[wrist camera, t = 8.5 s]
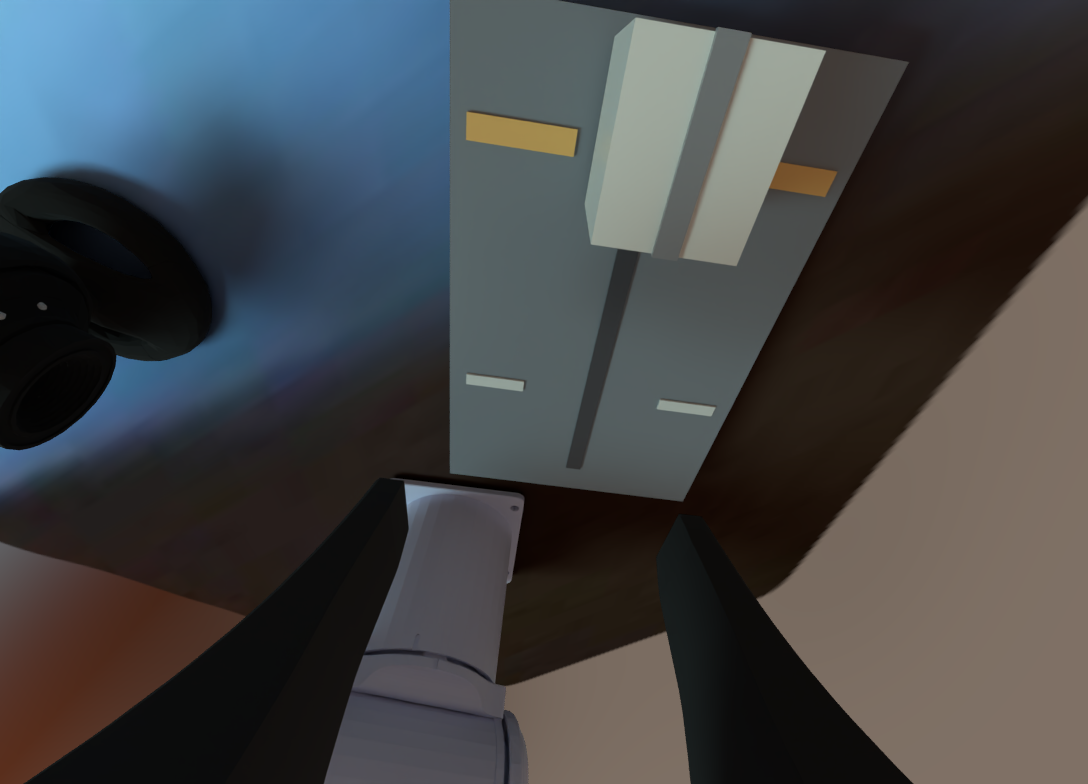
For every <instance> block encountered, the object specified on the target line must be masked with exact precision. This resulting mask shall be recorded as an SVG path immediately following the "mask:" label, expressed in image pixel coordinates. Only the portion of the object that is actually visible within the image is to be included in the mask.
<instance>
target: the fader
mask: <svg viewBox="0 0 1088 784" xmlns="http://www.w3.org/2000/svg"><path fill="white" fill-rule="evenodd" d="M751 34H752V33H750V32H744V31H739V30H733V29H727V28H722V27H717V28H716V30H715V31H710V30H705V29H699V28H693V27H688V26H682V25H676V24H670V23H665V22H659V21H653V20H648V19H642V18H635V19H633V20H632V21H631V22H630V23H629V24H628V25H627V26H626V27H625V28H623V29H622V30H621V31H620V32H619V33H618V34H617V35H616V36H615V37H614V43H613V48H612V54H611V59H610V65H609V71H608V76H607V82H606V87H605V93H604V98H603V104H602V110H601V115H600V121H599V126H598V132H597V137H596V143H595V149H594V154H593V160H592V165H591V171H590V176H589V182H588V188H587V193H586V199H585V210H586V217H587V223H588V230H589V236H590V243H591V245H598V246H605V247H611V248H618V249H625V250H631V251H638V252H645V253H651V257H652V258H659V259H665V260H672V261H677V260H678V258H685V259H692V260H698V261H705V262H712V263H718V264H725V265H732V266H737V263H738V261H739V259H740V256H741V254H742V251H743V249H744V247H745V244H746V242H747V239H748V237H749V235H750V232H751V230H752V227H753V225H754V223H755V220H756V218H757V215H758V213H759V211H760V208H761V206H762V203H763V201H764V199H765V196H766V194H767V191H768V189H769V187H770V184H771V182H772V179H773V177H774V175H775V172H776V170H777V167H778V165H779V163H780V160H781V158H782V155H783V153H784V151H785V148H786V146H787V143H788V141H789V139H790V136H791V134H792V131H793V129H794V127H795V124H796V122H797V119H798V117H799V115H800V112H801V110H802V107H803V105H804V103H805V100H806V98H807V95H808V93H809V91H810V88H811V86H812V83H813V81H814V79H815V76H816V74H817V71H818V69H819V66H820V64H821V62H822V59H823V57H824V54H825V52H826V51H824V50H819V49H813V48H807V47H801V46H796V45H790V44H784V43H779V42H773V41H767V40H762V39H756V38H750V37H751Z"/></svg>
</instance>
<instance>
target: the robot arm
mask: <svg viewBox="0 0 1088 784" xmlns="http://www.w3.org/2000/svg"><path fill="white" fill-rule="evenodd" d="M523 507H524V496H523V495H521V494H520V493H515V492H506V491H498V490H490V489H482V488H473V487H465V486H457V485H448V484H440V483H432V482H424V481H415V480H407V479H399V478H392V479H386V478H379V479H378V480H376V481H375V483H374V484H373V485H372V486H371V488H370V489H369V490H368V491H367V492H366V494H365V495H364V496H363V497H362V499H361V500H360V501H359V502H358V503H357V504H356V506H355V507H354V508H353V509H352V510H351V511H350V513H349V514H348V515H347V516H346V517H345V518H344V519H343V521H342V522H341V523H340V524H339V525H338V526H337V527H336V528H335V529H334V531H333V532H332V533H331V534H330V535H329V536H328V537H327V538H326V539H325V540H324V541H323V542H322V544H321V545H320V546H319V547H318V548H317V549H316V550H315V551H314V552H313V553H312V554H311V555H310V556H309V557H308V558H307V559H306V560H305V561H304V562H303V563H302V564H301V565H300V566H299V567H298V568H297V569H296V570H295V571H294V572H293V573H292V574H291V575H290V576H289V577H288V578H287V579H286V580H285V581H284V582H283V583H282V584H281V585H280V586H279V587H278V588H277V589H276V590H275V591H274V592H273V593H272V594H270V595H269V596H268V597H267V598H266V599H265V600H264V601H263V602H262V603H261V604H260V605H259V606H257V607H256V608H255V609H254V610H253V611H252V612H251V613H250V614H248V615H247V616H246V617H245V618H244V619H243V620H242V621H241V622H239V623H238V624H237V625H236V626H235V627H234V628H232V629H231V630H230V631H229V632H228V633H227V634H225V635H224V636H223V637H222V638H221V639H220V640H218V641H217V642H216V643H214V644H213V645H212V646H211V647H210V648H208V649H207V650H206V651H205V652H204V653H202V654H201V655H200V656H199V657H198V658H196V659H195V660H194V661H193V662H191V663H190V664H189V665H188V666H186V667H185V668H184V669H183V670H181V671H180V672H179V673H178V674H176V675H175V676H174V677H172V678H171V679H170V680H168V681H167V682H166V683H164V684H163V685H162V686H160V687H159V688H158V689H156V690H155V691H154V692H152V693H151V694H150V695H148V696H147V697H146V698H144V699H143V700H142V701H140V702H139V703H138V704H136V705H135V706H134V707H132V708H131V709H129V710H128V711H127V712H125V713H124V714H123V715H122V716H120V717H119V718H118V719H116V720H115V721H114V722H112V723H111V724H110V725H108V726H107V727H105V728H104V729H102V730H101V731H100V732H98V733H97V734H95V735H94V736H93V737H91V738H90V739H88V740H87V741H85V742H84V743H83V744H81V745H79V746H78V747H77V748H75V749H74V750H72V751H71V752H69V753H68V754H66V755H65V756H63V757H62V758H61V759H59V760H58V761H56V762H55V763H53V764H52V765H50V766H49V767H47V768H46V769H44V770H43V771H41V772H40V773H39V774H37V775H36V776H34V777H33V778H31V779H30V780H28V781H27V782H26V783H24V784H528V758H527V751H526V745H525V741H524V738H523V735H522V733H521V731H520V728H519V724H518V721H517V719H516V718H515V716H514V714H513V713H511V712H510V711H507V710H504V702H505V692H506V687H505V686H501V685H497V684H495V678H496V670H497V661H498V653H499V644H500V636H501V627H502V619H503V610H504V602H505V593H506V585H507V583H509V582H511V580H512V574H513V568H514V562H515V555H516V549H517V543H518V537H519V531H520V525H521V519H522V513H523ZM656 561H657V574H658V585H659V594H660V601H661V606H662V611H663V616H664V621H665V626H666V631H667V636H668V640H669V645H670V650H671V655H672V659H673V664H674V668H675V674H676V678H677V682H678V688H679V693H680V699H681V705H682V711H683V718H684V727H685V736H686V744H687V752H688V761H689V771H690V781H691V784H913V783H912V782H911V781H910V780H909V779H908V778H907V777H906V776H905V775H904V774H903V773H902V772H901V771H900V770H899V769H898V768H897V767H896V766H895V765H894V764H893V762H892V761H891V760H890V759H889V758H888V757H887V756H886V755H885V754H884V753H883V752H882V751H881V750H880V749H879V748H878V746H877V745H875V743H874V742H873V741H872V740H871V739H870V738H869V737H868V736H867V735H866V734H865V733H864V732H863V730H861V728H860V727H859V726H858V725H857V724H856V723H855V722H854V721H853V720H852V719H851V718H850V717H849V715H847V713H846V712H845V711H844V710H843V709H842V708H841V706H840V705H839V704H838V703H837V702H836V701H835V700H834V698H833V697H832V696H831V695H830V694H829V693H828V692H827V690H826V689H825V688H824V687H823V685H821V683H820V682H819V681H818V680H817V678H816V677H815V676H814V675H813V674H812V672H810V670H809V669H808V668H807V666H806V665H805V664H804V663H803V661H802V660H801V659H800V658H799V656H798V655H797V654H796V652H795V651H794V650H793V649H792V647H791V646H790V645H789V643H788V642H787V641H786V639H785V638H784V637H783V635H782V634H781V633H780V631H779V630H778V629H777V627H776V626H775V625H774V623H773V622H772V621H771V619H770V618H769V616H768V615H767V614H766V612H765V611H764V610H763V608H762V607H761V605H760V604H759V602H758V601H757V600H756V598H755V597H754V595H753V594H752V592H751V591H750V589H749V588H748V587H747V585H746V584H745V582H744V581H743V579H742V578H741V576H740V575H739V573H738V572H737V570H736V569H735V567H734V566H733V564H732V563H731V561H730V560H729V558H728V556H727V555H726V553H725V552H724V550H723V549H722V547H721V546H720V544H719V543H718V541H717V539H716V538H715V536H714V535H713V533H712V532H711V530H710V528H709V527H708V525H707V524H706V522H705V521H704V519H703V518H702V517H701V516H693V515H685V514H679V515H678V517H677V519H676V521H675V522H674V524H673V526H672V528H671V530H670V532H669V534H668V536H667V538H666V540H665V542H664V544H663V546H662V547H661V549H660V551H659V553H658V555H657V557H656Z"/></svg>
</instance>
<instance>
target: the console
mask: <svg viewBox="0 0 1088 784" xmlns="http://www.w3.org/2000/svg"><path fill="white" fill-rule="evenodd" d="M635 18H642V19H648V20H653V21H659V22H665V23H670V24H676V25H682V26H688V27H693V28H699V29H705V30H710V31H715V30H716V28H713V27H707V26H701V25H696V24H690V23H684V22H679V21H673V20H667V19H662V18H656V17H650V16H645V15H639V14H633V13H628V12H622V11H616V10H611V9H605V8H599V7H593V6H588V5H582V4H576V3H571V2H565V1H559V0H450V473H453V474H462V475H470V476H478V477H486V478H494V479H503V480H511V481H519V482H527V483H535V484H543V485H552V486H560V487H568V488H576V489H584V490H593V491H601V492H609V493H617V494H625V495H634V496H642V497H650V498H658V499H666V500H675V501H683V500H684V498H685V496H686V494H687V492H688V490H689V488H690V487H691V485H692V483H693V481H694V479H695V477H696V475H697V473H698V471H699V469H700V467H701V465H702V463H703V461H704V459H705V457H706V455H707V454H708V452H709V450H710V448H711V446H712V444H713V442H714V440H715V438H716V436H717V434H718V432H719V430H720V428H721V426H722V424H723V422H724V420H725V419H726V417H727V415H728V413H729V411H730V409H731V407H732V405H733V403H734V401H735V399H736V397H737V395H738V393H739V391H740V389H741V387H742V386H743V384H744V382H745V380H746V378H747V376H748V374H749V372H750V370H751V368H752V366H753V364H754V362H755V360H756V358H757V356H758V354H759V352H760V351H761V349H762V347H763V345H764V343H765V341H766V339H767V337H768V335H769V333H770V331H771V329H772V327H773V325H774V323H775V321H776V319H777V318H778V316H779V314H780V312H781V310H782V308H783V306H784V304H785V302H786V300H787V298H788V296H789V294H790V292H791V290H792V288H793V286H794V285H795V283H796V281H797V279H798V277H799V275H800V273H801V271H802V269H803V267H804V265H805V263H806V261H807V259H808V257H809V255H810V253H811V251H812V250H813V248H814V246H815V244H816V242H817V240H818V238H819V236H820V234H821V232H822V230H823V228H824V226H825V224H826V222H827V220H828V218H829V217H830V215H831V213H832V211H833V209H834V207H835V205H836V203H837V201H838V199H839V197H840V195H841V193H842V191H843V189H844V187H845V185H846V183H847V182H848V180H849V178H850V176H851V174H852V172H853V170H854V168H855V166H856V164H857V162H858V160H859V158H860V156H861V154H862V152H863V150H864V149H865V147H866V145H867V143H868V141H869V139H870V137H871V135H872V133H873V131H874V129H875V127H876V125H877V123H878V121H879V119H880V117H881V115H882V114H883V112H884V110H885V108H886V106H887V104H888V102H889V100H890V98H891V96H892V94H893V92H894V90H895V88H896V86H897V84H898V82H899V81H900V79H901V77H902V75H903V73H904V71H905V69H906V67H907V65H908V63H909V62H906V61H900V60H895V59H889V58H883V57H878V56H872V55H866V54H861V53H855V52H849V51H844V50H838V49H832V48H827V47H821V46H815V45H809V44H804V43H798V42H792V41H787V40H781V39H775V38H770V37H764V36H758V35H753V34H751V37H750V38H756V39H762V40H767V41H773V42H779V43H784V44H790V45H796V46H801V47H807V48H813V49H819V50H824V51H826V52H825V54H824V57H823V59H822V62H821V64H820V66H819V69H818V71H817V74H816V76H815V79H814V81H813V83H812V86H811V88H810V91H809V93H808V95H807V98H806V100H805V103H804V105H803V107H802V110H801V112H800V115H799V117H798V119H797V122H796V124H795V127H794V129H793V131H792V134H791V136H790V139H789V141H788V143H787V146H786V148H785V151H784V153H783V155H782V158H781V160H780V163H779V165H778V167H777V170H776V172H775V175H774V177H773V179H772V182H771V184H770V187H769V189H768V191H767V194H766V196H765V199H764V201H763V203H762V206H761V208H760V211H759V213H758V215H757V218H756V220H755V223H754V225H753V227H752V230H751V232H750V235H749V237H748V239H747V242H746V244H745V247H744V249H743V251H742V254H741V256H740V259H739V261H738V263H737V266H732V265H725V264H718V263H712V262H705V261H698V260H692V259H685V258H678V260H677V261H672V260H665V259H659V258H652V257H651V253H645V252H638V251H631V250H625V249H618V248H611V247H605V246H598V245H591V243H590V236H589V230H588V223H587V217H586V210H585V199H586V193H587V188H588V182H589V176H590V171H591V165H592V160H593V154H594V149H595V143H596V137H597V132H598V126H599V121H600V115H601V110H602V104H603V98H604V93H605V87H606V82H607V76H608V71H609V65H610V59H611V54H612V48H613V43H614V37H615V36H616V35H617V34H618V33H619V32H620V31H621V30H622V29H623V28H625V27H626V26H627V25H628V24H629V23H630V22H631V21H632V20H633V19H635Z"/></svg>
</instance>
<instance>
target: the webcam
mask: <svg viewBox="0 0 1088 784" xmlns="http://www.w3.org/2000/svg"><path fill="white" fill-rule="evenodd" d="M62 220H69V221H76V222H81V223H83V224H86V225H89V226H91V227H94V228H96V229H98V230H100V231H101V232H103V233H105V234H107V235H108V236H110V237H112V238H114V239H115V240H117V241H118V242H120V243H121V244H122V245H123V246H125V247H126V248H127V249H128V250H129V251H131V252H132V253H133V254H134V255H136V256H137V257H138V258H139V259H140V260H141V261H142V262H143V264H144V265H145V266H146V267H148V269H149V271H150V273H151V276H152V278H150V279H142V278H138V277H134V276H130V275H126V274H123V273H121V272H118V271H116V270H113V269H111V268H109V267H106V266H104V265H102V264H100V263H98V262H96V261H94V260H91V259H89V258H87V257H85V256H83V255H81V254H79V253H76V252H75V251H73V250H71V249H70V248H68V247H67V246H65V245H63V244H62V243H60V242H58V241H57V240H55V239H53V238H52V237H51V236H50V235H49V234H48V232H49V229H50V228H51V226H52V225H53V224H54V223H55V222H57V221H62ZM211 318H212V306H211V298H210V294H209V291H208V287H207V285H206V283H205V281H204V280H203V278H202V276H201V275H200V273H199V271H198V270H197V268H196V266H195V265H194V263H193V261H192V260H191V258H190V256H189V255H188V253H187V252H186V251H185V250H184V248H183V247H182V246H181V245H180V243H179V242H178V241H177V240H176V239H175V238H174V237H173V236H172V235H171V234H170V233H169V232H168V231H167V230H166V229H165V228H164V227H163V226H162V225H160V224H159V223H158V222H157V221H156V220H154V219H153V218H151V217H150V216H149V215H147V214H146V213H144V212H143V211H141V210H140V209H139V208H137V207H136V206H134V205H133V204H131V203H130V202H128V201H127V200H125V199H124V198H122V197H119V196H117V195H115V194H113V193H111V192H109V191H107V190H104V189H102V188H99V187H96V186H93V185H89V184H86V183H83V182H80V181H76V180H70V179H63V178H48V177H43V178H36V179H29V180H23V181H20V182H18V183H15V184H13V185H11V186H8V187H7V188H6V189H5V190H3V191H2V192H1V193H0V447H2V448H5V449H13V450H23V449H28V448H32V447H35V446H38V445H40V444H42V443H45V442H47V441H49V440H51V439H53V438H54V437H56V436H58V435H59V434H61V433H63V432H64V431H65V430H67V429H68V428H69V427H70V426H72V425H73V424H74V423H75V422H77V421H78V420H79V419H80V418H82V417H83V416H84V415H85V414H86V412H87V411H88V410H89V409H90V408H91V407H92V406H93V405H94V404H95V403H96V402H97V400H98V399H99V398H100V396H101V395H102V394H103V392H104V390H105V389H106V387H107V385H108V384H109V382H110V380H111V378H112V375H113V372H114V369H115V365H116V355H118V356H122V357H125V358H129V359H135V360H142V361H162V360H167V359H171V358H174V357H177V356H180V355H183V354H186V353H188V352H190V351H191V350H192V349H194V348H195V347H196V346H198V345H199V344H200V343H201V342H202V340H203V339H204V338H205V336H206V334H207V332H208V331H209V328H210V324H211Z"/></svg>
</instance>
